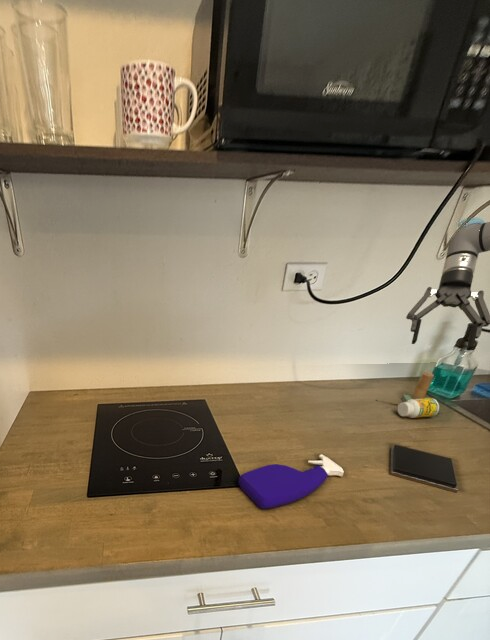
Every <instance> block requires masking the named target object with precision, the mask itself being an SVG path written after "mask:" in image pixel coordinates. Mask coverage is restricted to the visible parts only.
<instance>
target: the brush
mask: <svg viewBox="0 0 490 640" xmlns="http://www.w3.org/2000/svg"><path fill="white" fill-rule="evenodd" d="M434 377H435V375H434V373H432V372H428V371H423V372H422V373H421V375H420V376H419V380H418V382H417V385H416V387H415V390H414V392H413V394H412V395H411V394H402V396H401V401H402V402H406V401H408V400H410V399H424V398H429V397H426V395H427V393H428V391H429V389H430V386H431V384H432V381H433V380H434V379H433V378H434Z"/></svg>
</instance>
